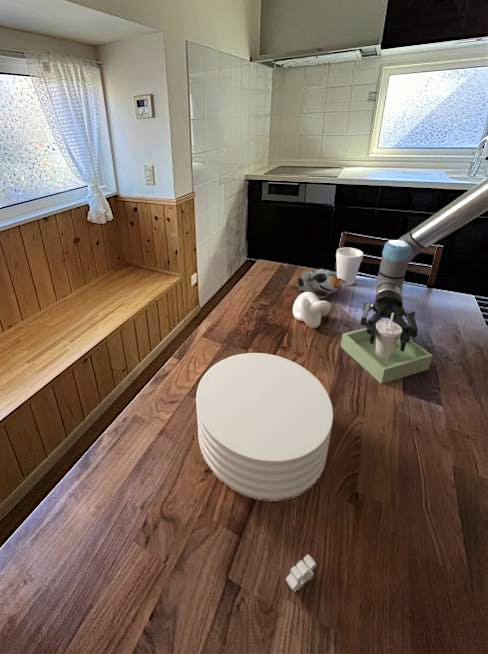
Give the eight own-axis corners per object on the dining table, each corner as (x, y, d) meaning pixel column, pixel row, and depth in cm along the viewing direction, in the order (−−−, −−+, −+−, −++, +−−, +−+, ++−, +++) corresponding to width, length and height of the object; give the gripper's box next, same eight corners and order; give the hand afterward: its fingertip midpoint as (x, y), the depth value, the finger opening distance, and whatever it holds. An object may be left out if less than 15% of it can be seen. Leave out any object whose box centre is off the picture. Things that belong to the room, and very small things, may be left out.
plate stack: (191, 492, 65) (187, 453, 61) (204, 383, 91) (202, 350, 86) (342, 509, 61) (351, 469, 57) (312, 390, 86) (316, 355, 82)
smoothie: (400, 356, 94) (411, 315, 89) (387, 366, 91) (397, 324, 86) (378, 344, 99) (387, 304, 94) (365, 353, 96) (373, 312, 91)
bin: (428, 369, 91) (433, 355, 89) (381, 383, 87) (384, 369, 85) (383, 335, 104) (386, 322, 102) (340, 346, 101) (342, 333, 99)
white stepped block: (307, 566, 54) (309, 551, 52) (314, 576, 53) (317, 561, 51) (284, 587, 52) (286, 572, 50) (291, 598, 51) (293, 583, 49)
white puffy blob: (322, 310, 118) (325, 288, 115) (335, 331, 108) (338, 307, 104) (290, 311, 119) (291, 289, 115) (299, 332, 108) (301, 308, 104)
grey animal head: (332, 284, 134) (349, 263, 123) (332, 309, 126) (351, 289, 116) (295, 273, 135) (309, 251, 124) (294, 297, 127) (309, 277, 116)
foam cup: (334, 286, 133) (338, 256, 127) (331, 275, 141) (334, 247, 135) (360, 288, 130) (365, 257, 125) (355, 276, 138) (360, 248, 133)
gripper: (422, 317, 103) (428, 365, 85) (353, 303, 112) (345, 344, 94) (428, 296, 100) (435, 341, 82) (356, 283, 109) (349, 322, 91)
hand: (387, 343), depth 88 cm, fingers closed on smoothie, 6 cm apart
